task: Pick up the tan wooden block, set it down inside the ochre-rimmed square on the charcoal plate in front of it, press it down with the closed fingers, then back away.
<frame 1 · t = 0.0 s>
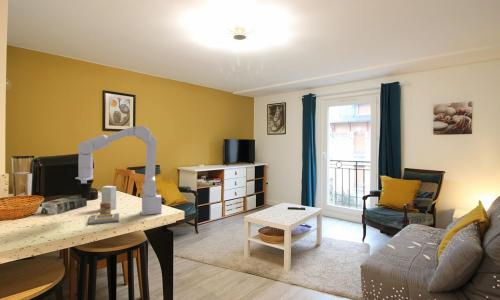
hand: (85, 196, 132), 10 cm above the kitchen counter, tool pointing down, fingers open, 7 cm apart
tan wooden block: (105, 214, 139), on the kitchen counter
skincare box: (109, 209, 151), on the kitchen counter
juice carton: (64, 210, 148), on the kitchen counter
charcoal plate: (104, 219, 130), on the kitchen counter
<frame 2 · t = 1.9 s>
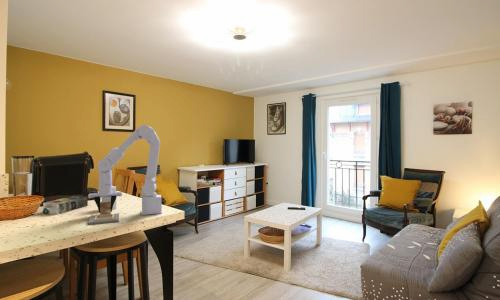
hand: (105, 211, 139), 1 cm above the kitchen counter, tool pointing down, fingers closed on tan wooden block, 4 cm apart
tan wooden block: (105, 214, 139), on the kitchen counter, touching gripper
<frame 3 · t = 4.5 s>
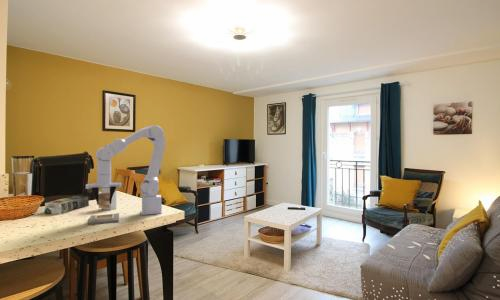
hand: (104, 203, 130), 7 cm above the kitchen counter, tool pointing down, fingers closed on tan wooden block, 4 cm apart
tan wooden block: (104, 206, 130), point 6 cm above the kitchen counter, touching gripper
when the fingers open (4 cm above the kitchen counter, at t = 5.7 s): tan wooden block drops 1 cm, resting on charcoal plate.
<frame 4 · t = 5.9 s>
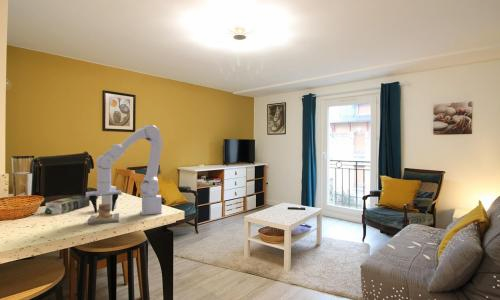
hand: (104, 211, 130), 4 cm above the kitchen counter, tool pointing down, fingers open, 6 cm apart
tan wooden block: (104, 217, 130), point 1 cm above the kitchen counter, touching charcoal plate
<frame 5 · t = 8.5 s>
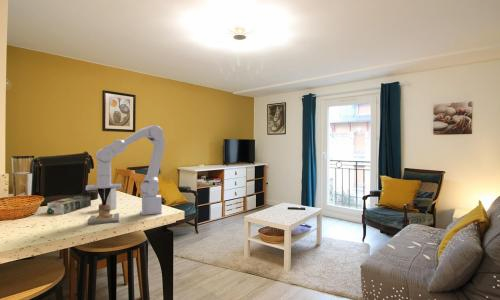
hand: (104, 204, 130), 7 cm above the kitchen counter, tool pointing down, fingers closed, pressing on tan wooden block
tan wooden block: (104, 217, 130), point 1 cm above the kitchen counter, touching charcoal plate, gripper
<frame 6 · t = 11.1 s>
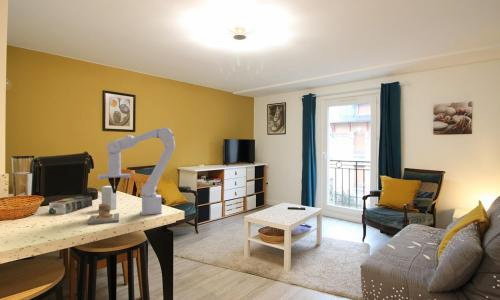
hand: (114, 192, 141), 10 cm above the kitchen counter, tool pointing down, fingers closed
tan wooden block: (104, 217, 130), point 1 cm above the kitchen counter, touching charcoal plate
at the end: tan wooden block 0.1 cm off-centre on the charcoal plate, point 1.0 cm above the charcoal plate's base; tan wooden block tilted 0°; the gripper is holding nothing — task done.
